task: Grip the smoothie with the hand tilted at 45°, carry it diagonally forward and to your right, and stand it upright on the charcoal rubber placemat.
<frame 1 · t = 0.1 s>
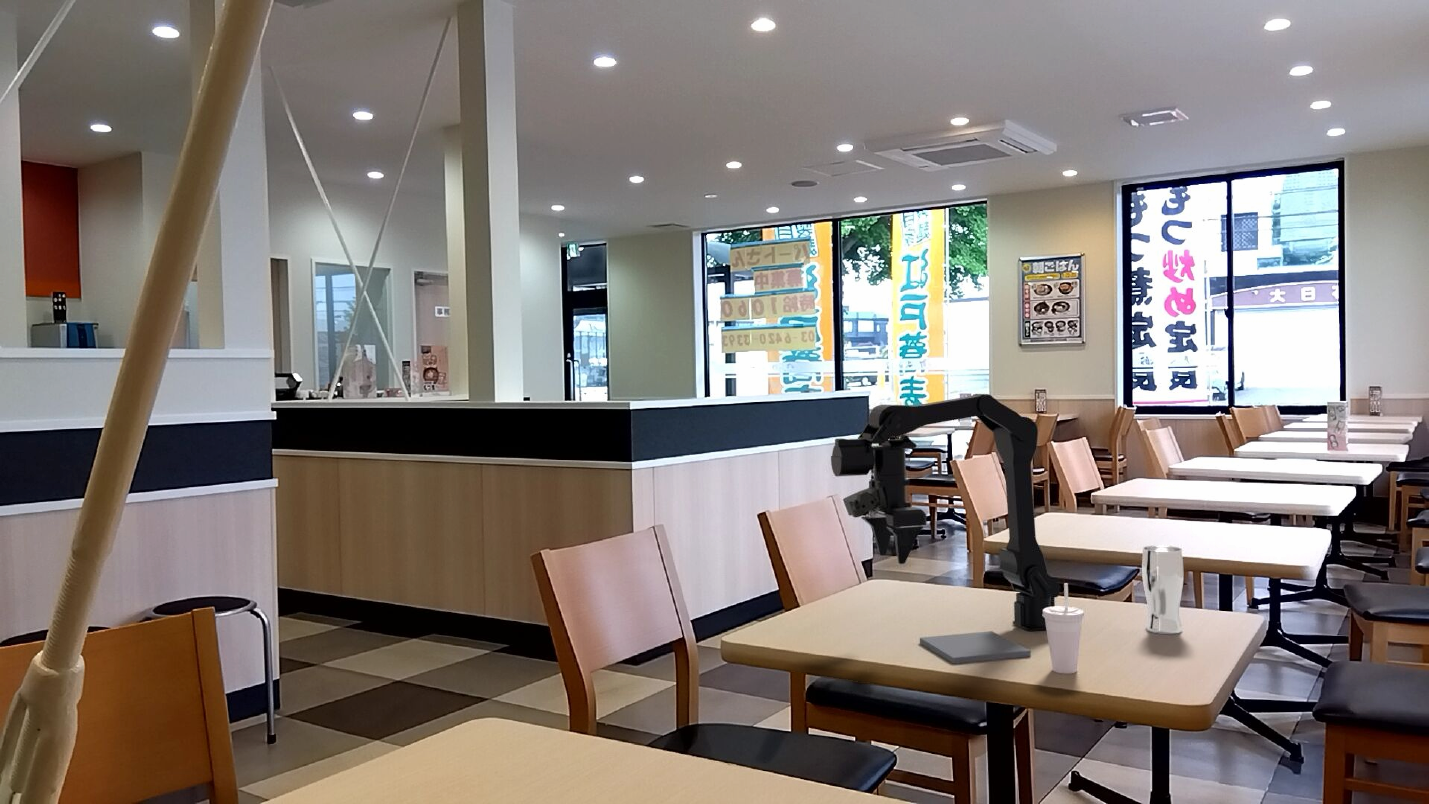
hand: (892, 559, 191), 15 cm above the table, tool pointing down, fingers open, 9 cm apart
beer glass: (1163, 631, 191), on the table
smoothie: (1064, 671, 169), on the table
placemat: (973, 649, 183), on the table
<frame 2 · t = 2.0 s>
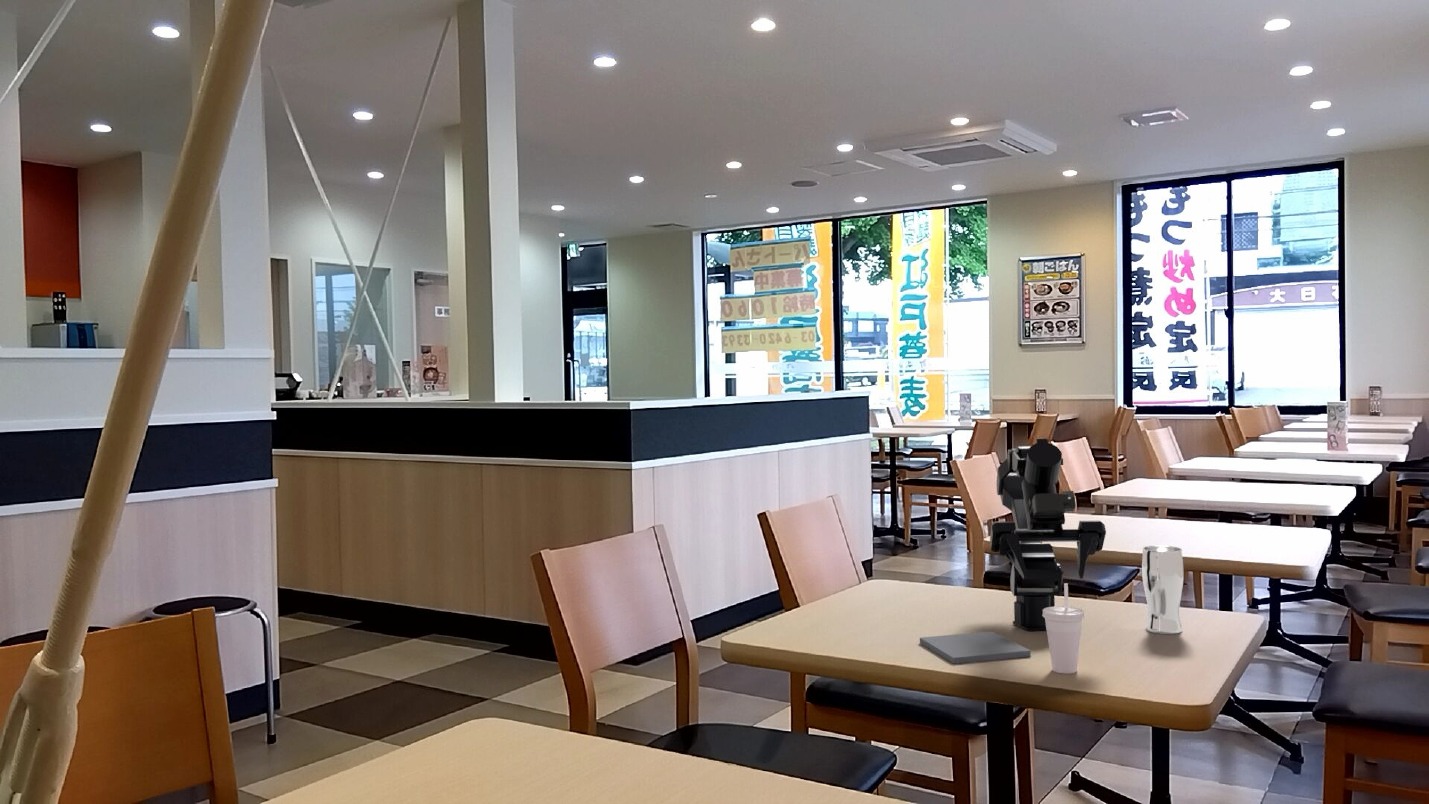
hand: (1053, 577, 176), 13 cm above the table, tool tilted 45°, fingers open, 9 cm apart
nothing on the table moved.
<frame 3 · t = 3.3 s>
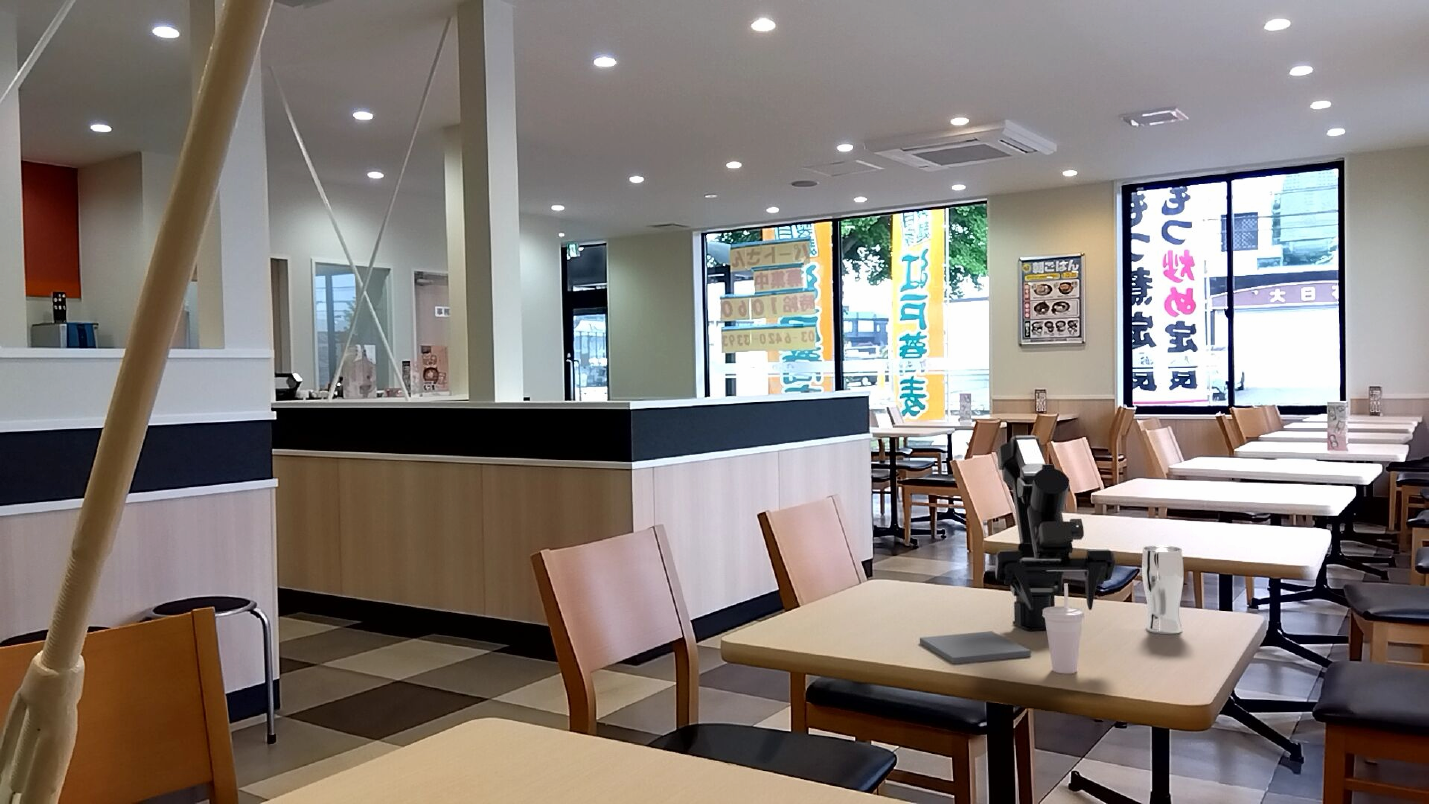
hand: (1061, 608, 170), 10 cm above the table, tool tilted 45°, fingers open, 9 cm apart
nothing on the table moved.
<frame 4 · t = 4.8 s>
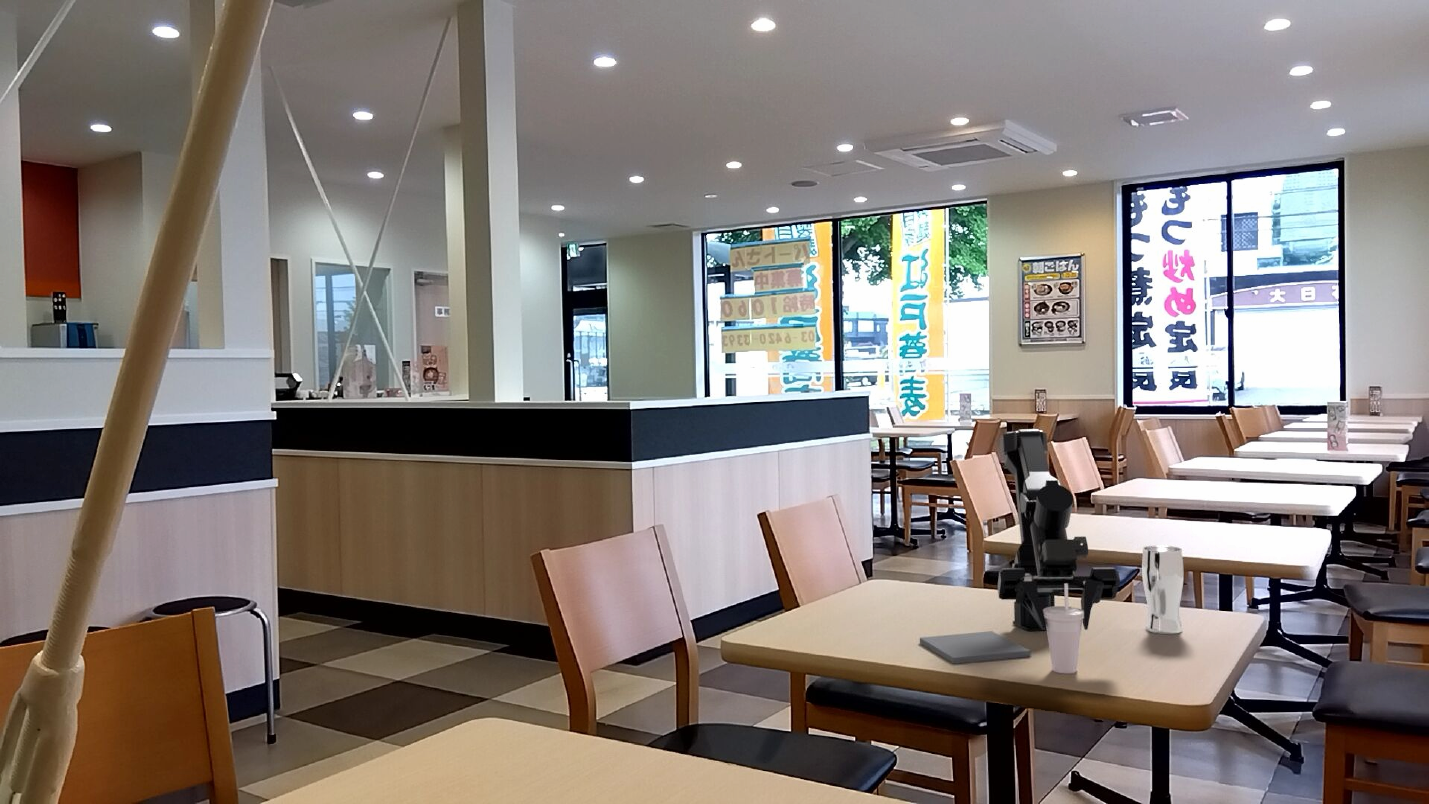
hand: (1065, 628, 167), 7 cm above the table, tool tilted 45°, fingers closed on smoothie, 6 cm apart
smoothie: (1064, 671, 169), on the table, touching gripper
everything else where it was.
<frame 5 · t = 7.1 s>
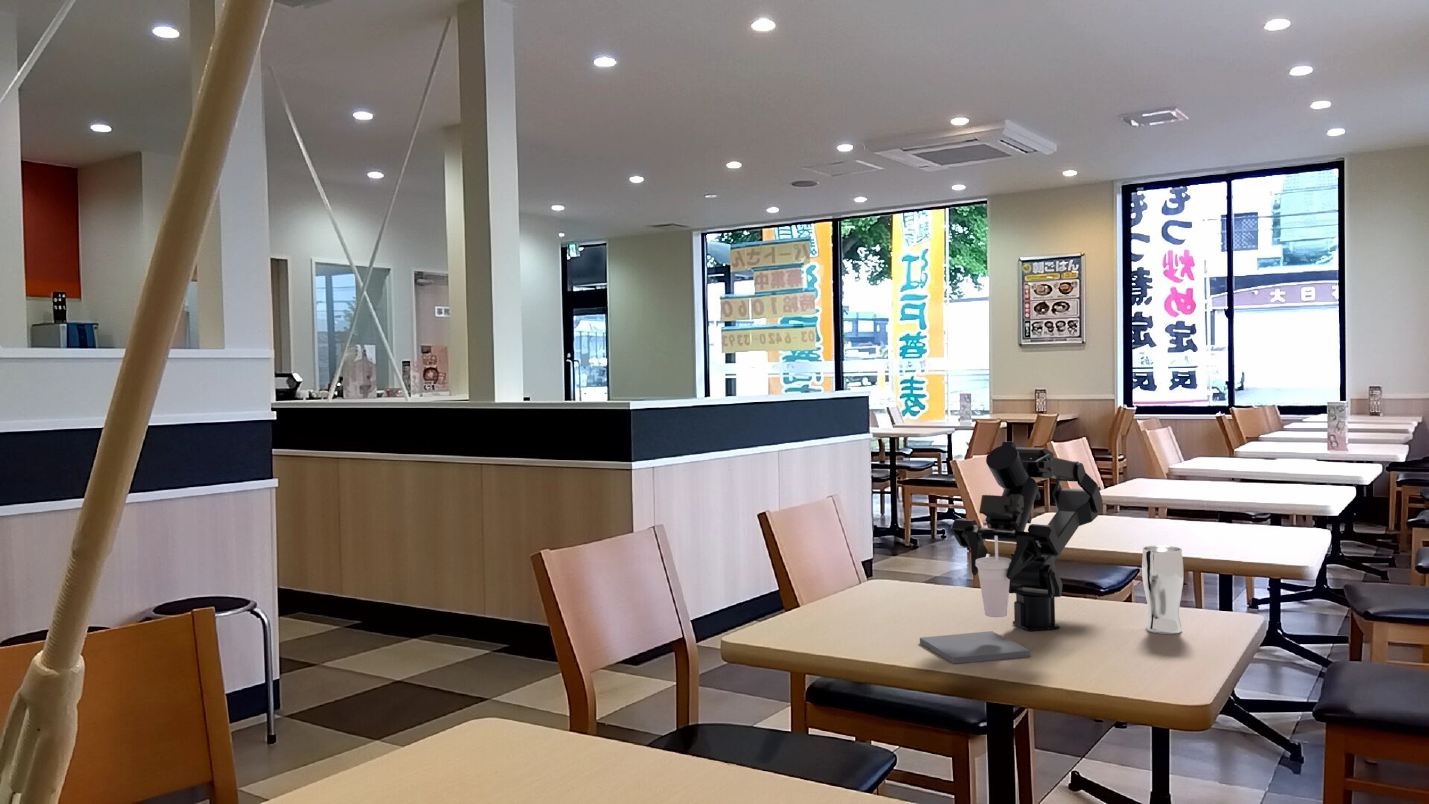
hand: (990, 576, 183), 13 cm above the table, tool tilted 45°, fingers closed on smoothie, 6 cm apart
smoothie: (995, 615, 184), point 5 cm above the table, touching gripper
everything else where it was.
when the fingers open (9 cm above the table, at t = 9.5 s): smoothie drops 1 cm, resting on placemat.
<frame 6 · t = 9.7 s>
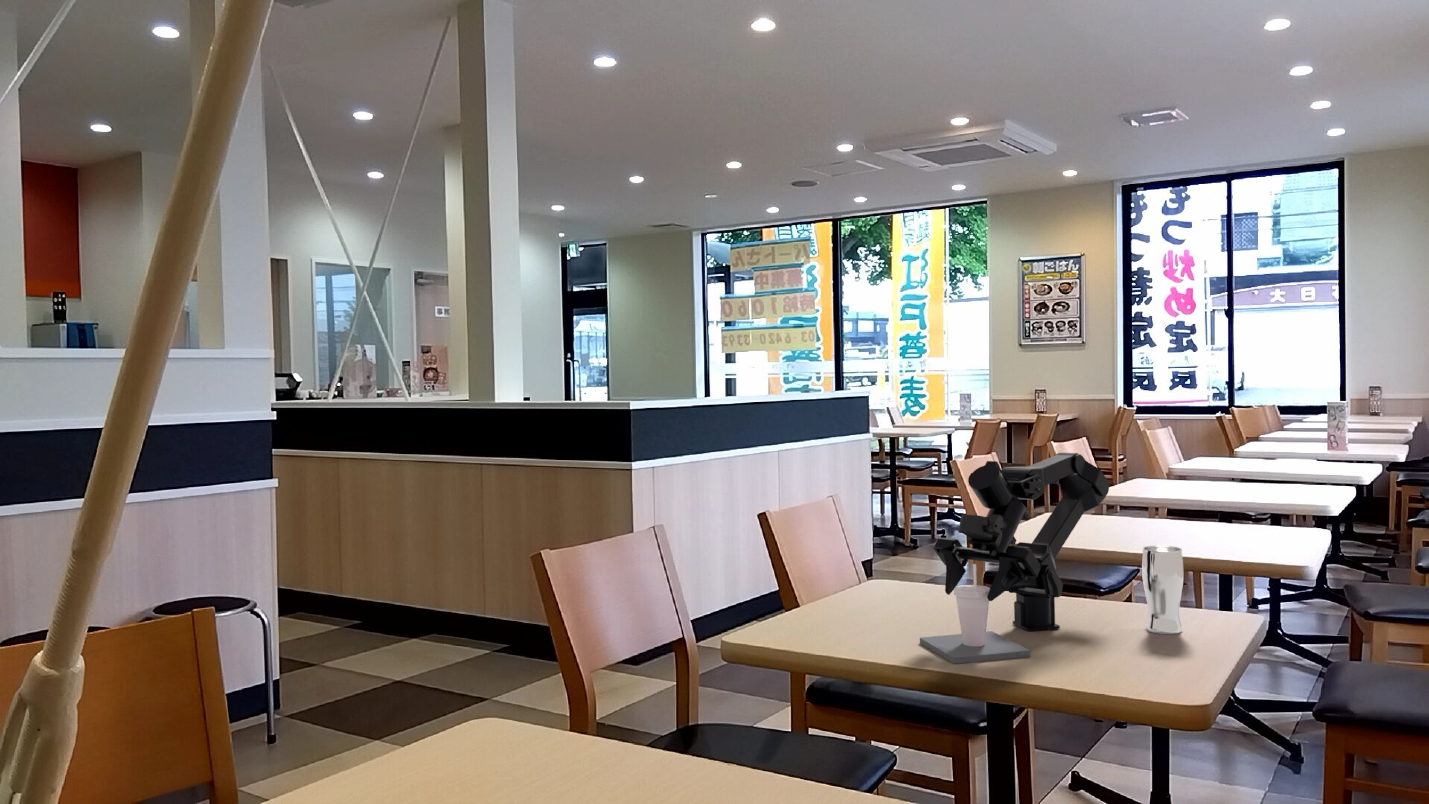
hand: (967, 596, 181), 10 cm above the table, tool tilted 45°, fingers open, 8 cm apart
smoothie: (973, 644, 183), point 1 cm above the table, touching placemat
everything else where it was.
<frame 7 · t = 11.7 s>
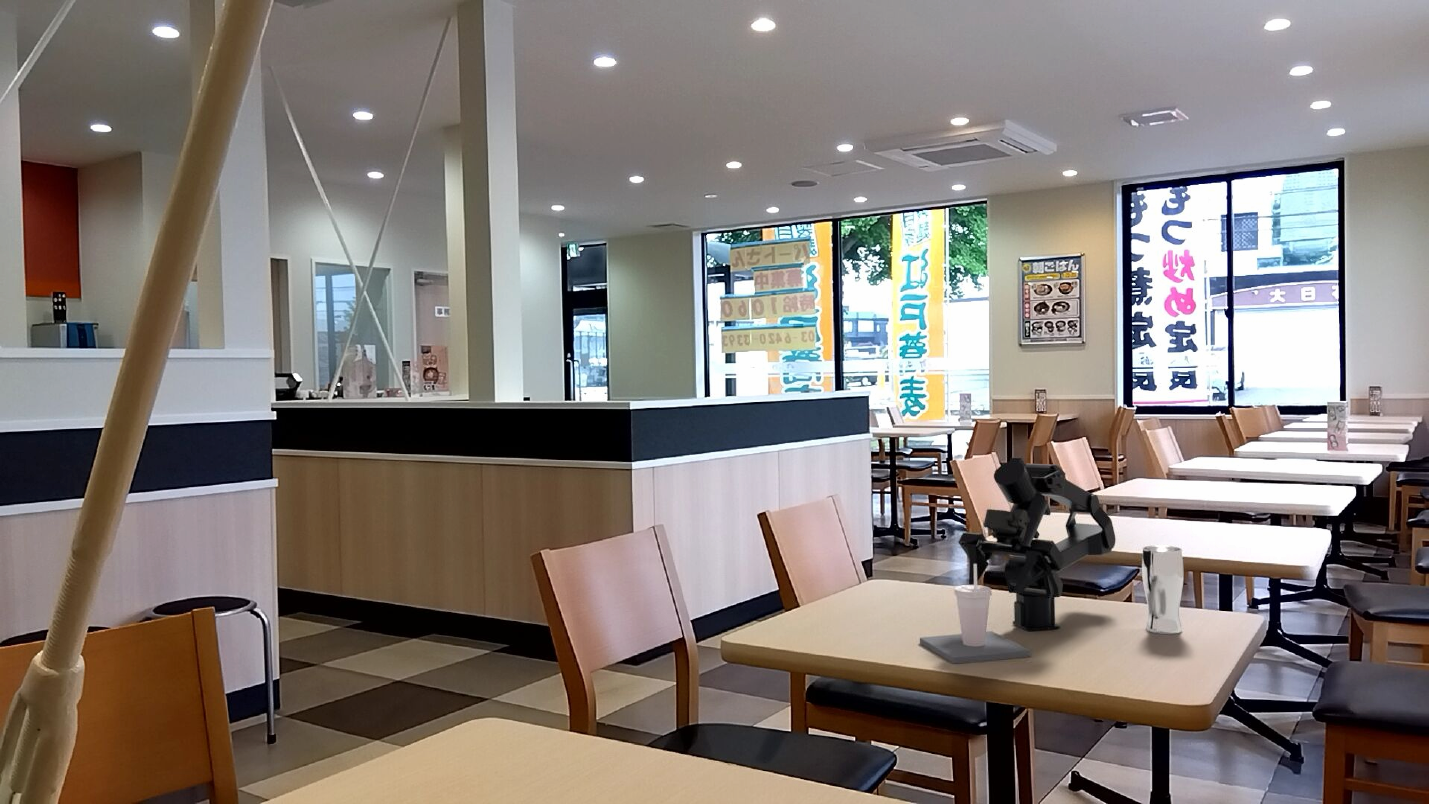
hand: (993, 588, 187), 10 cm above the table, tool tilted 45°, fingers open, 9 cm apart
nothing on the table moved.
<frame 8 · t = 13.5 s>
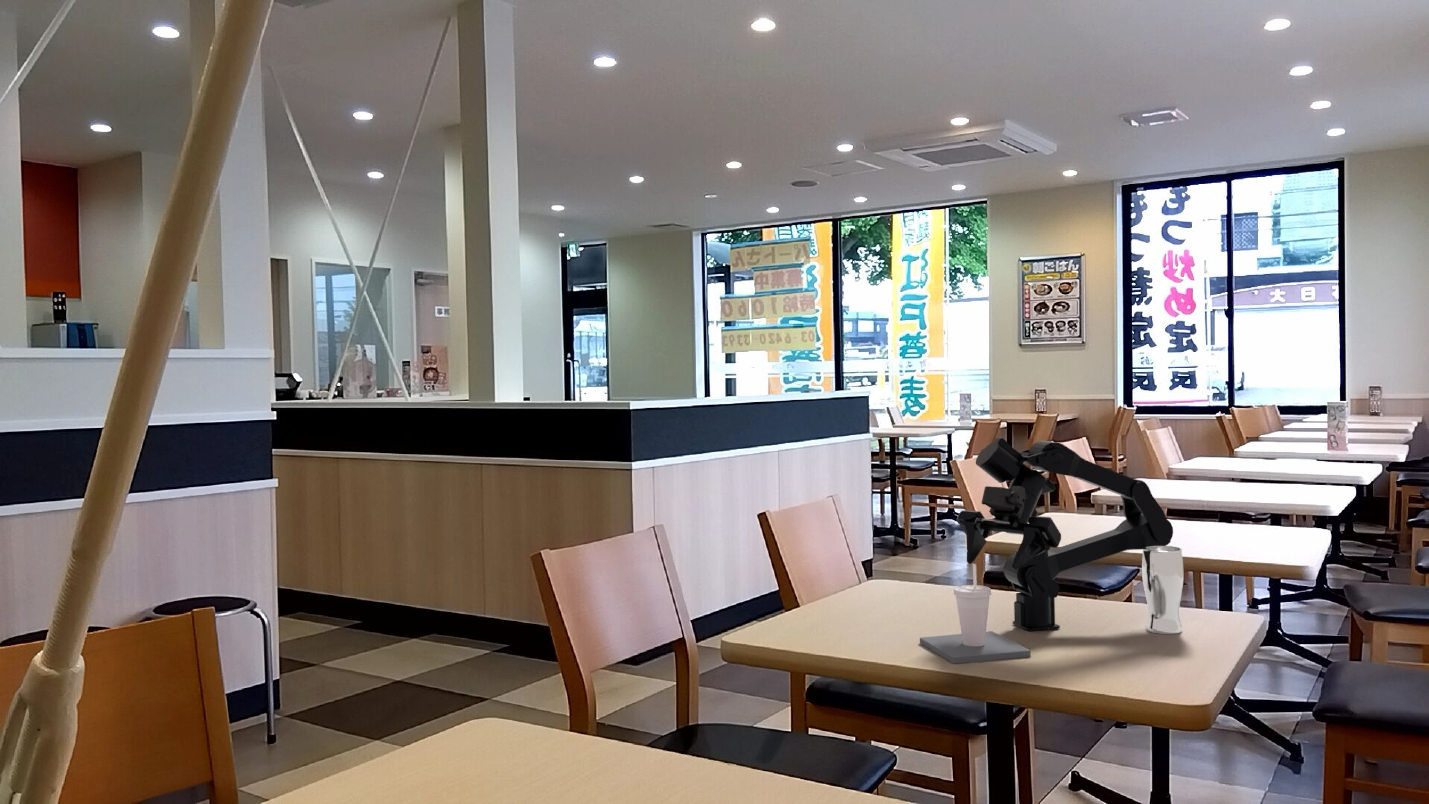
hand: (990, 565, 188), 14 cm above the table, tool tilted 45°, fingers open, 9 cm apart
nothing on the table moved.
at the end: smoothie inside the target area on the placemat (0.1 cm from its centre), point 0.8 cm above the placemat's base; smoothie tilted 0°; the gripper is holding nothing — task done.
